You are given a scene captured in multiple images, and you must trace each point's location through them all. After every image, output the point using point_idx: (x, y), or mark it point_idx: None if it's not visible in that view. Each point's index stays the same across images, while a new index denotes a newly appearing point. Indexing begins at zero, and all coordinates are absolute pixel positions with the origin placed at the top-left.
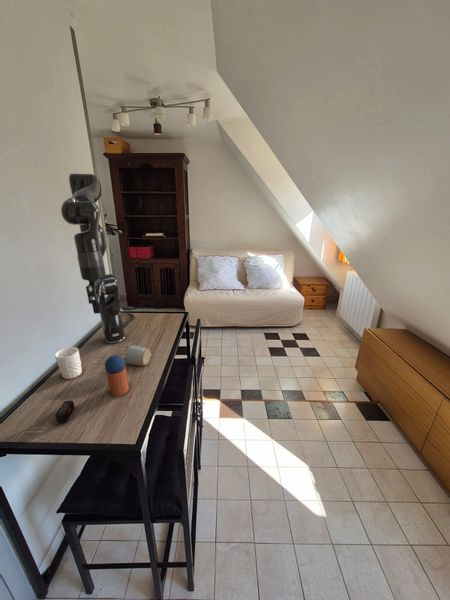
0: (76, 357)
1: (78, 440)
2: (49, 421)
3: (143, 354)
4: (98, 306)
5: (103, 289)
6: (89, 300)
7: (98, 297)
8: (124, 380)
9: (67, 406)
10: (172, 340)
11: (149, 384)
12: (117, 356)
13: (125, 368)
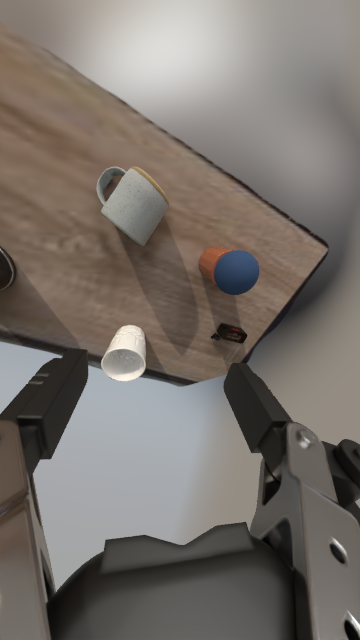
0: (135, 345)
1: (276, 312)
2: (227, 344)
3: (162, 192)
4: (266, 401)
5: (39, 559)
6: (357, 510)
7: (323, 482)
8: None
9: (234, 333)
10: (10, 37)
11: (226, 203)
12: (246, 268)
13: (234, 250)
